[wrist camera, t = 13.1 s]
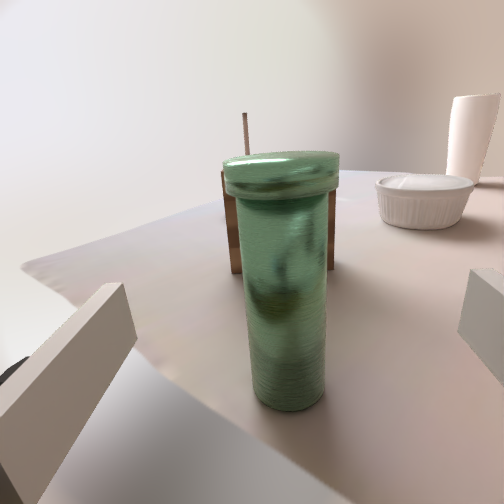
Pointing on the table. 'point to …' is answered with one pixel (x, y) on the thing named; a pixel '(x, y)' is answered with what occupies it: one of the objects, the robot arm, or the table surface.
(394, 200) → the ramekin
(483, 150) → the drinking glass
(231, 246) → the brown striped block
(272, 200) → the green tall capped cylinder
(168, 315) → the table surface
